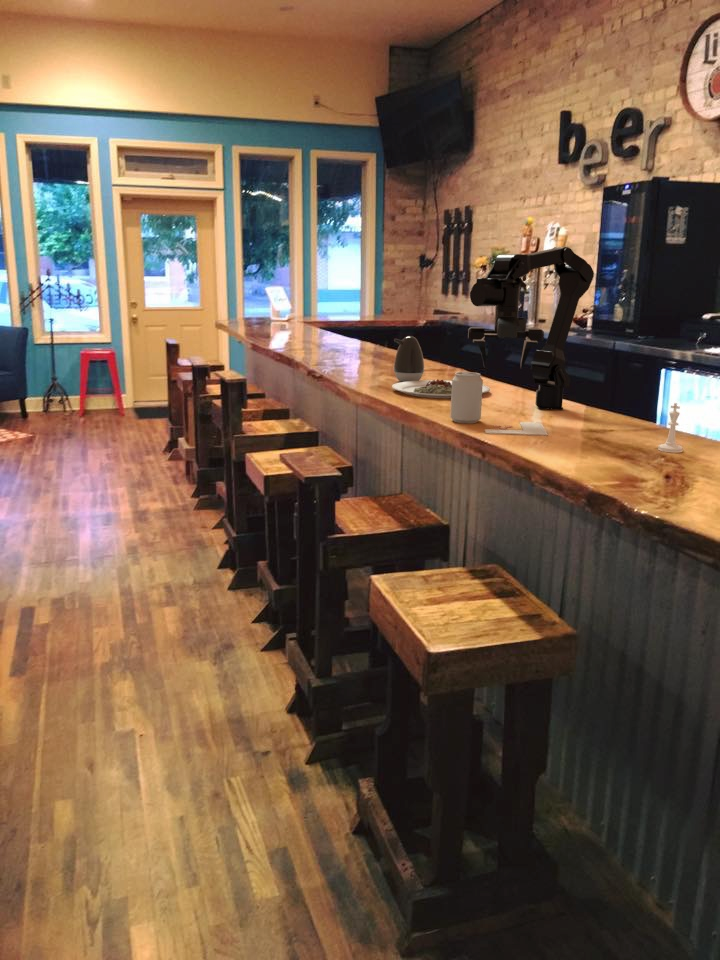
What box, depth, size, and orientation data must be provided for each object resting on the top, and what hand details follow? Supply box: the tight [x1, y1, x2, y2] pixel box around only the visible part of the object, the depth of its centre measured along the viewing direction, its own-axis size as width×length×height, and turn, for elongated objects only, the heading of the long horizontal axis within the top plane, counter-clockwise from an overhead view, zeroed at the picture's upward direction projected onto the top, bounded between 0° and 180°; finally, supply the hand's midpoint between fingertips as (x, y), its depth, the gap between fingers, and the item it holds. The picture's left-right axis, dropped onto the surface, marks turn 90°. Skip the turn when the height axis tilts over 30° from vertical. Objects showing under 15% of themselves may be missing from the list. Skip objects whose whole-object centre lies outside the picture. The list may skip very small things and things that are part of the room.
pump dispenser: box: [393, 335, 425, 382], centre depth 258 cm, size 10×10×15 cm
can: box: [450, 371, 484, 424], centre depth 191 cm, size 8×8×12 cm
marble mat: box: [484, 421, 549, 436], centre depth 184 cm, size 14×14×1 cm
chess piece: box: [657, 402, 684, 454], centre depth 162 cm, size 5×5×10 cm
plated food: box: [391, 378, 491, 399], centre depth 238 cm, size 30×30×3 cm
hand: (503, 368), depth 199 cm, fingers open, 9 cm apart
